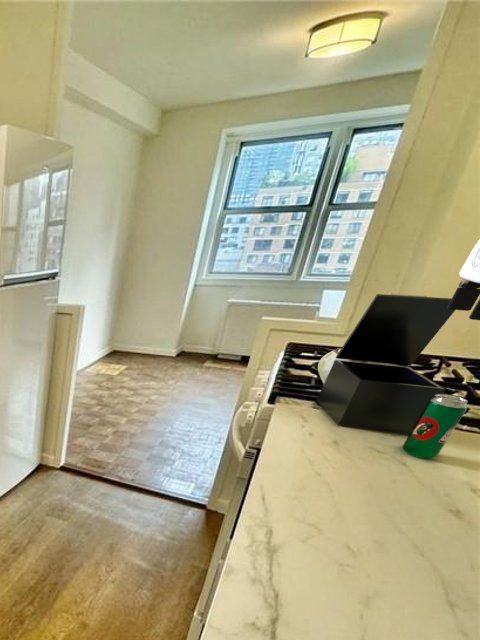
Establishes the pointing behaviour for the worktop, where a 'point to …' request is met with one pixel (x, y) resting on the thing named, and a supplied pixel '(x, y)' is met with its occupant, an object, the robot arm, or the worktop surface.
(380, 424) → the bin
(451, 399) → the soda can
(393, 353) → the bin lid
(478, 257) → the robot arm
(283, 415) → the worktop surface
